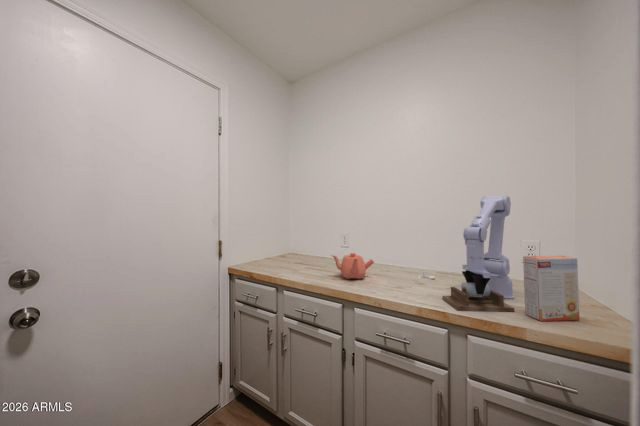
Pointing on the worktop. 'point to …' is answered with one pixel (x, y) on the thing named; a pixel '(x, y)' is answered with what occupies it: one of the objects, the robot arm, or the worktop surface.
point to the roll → (474, 289)
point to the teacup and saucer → (426, 275)
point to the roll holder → (477, 302)
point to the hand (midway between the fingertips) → (475, 291)
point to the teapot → (353, 266)
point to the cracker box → (551, 288)
